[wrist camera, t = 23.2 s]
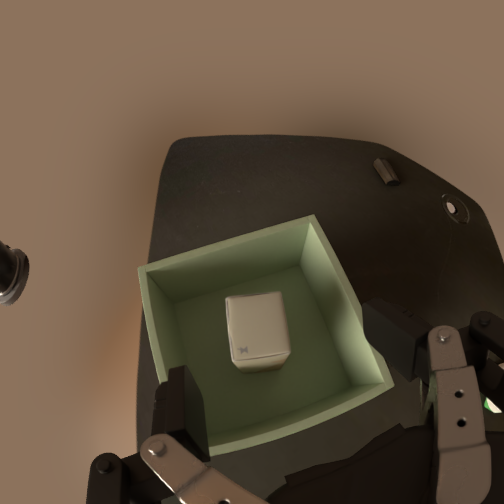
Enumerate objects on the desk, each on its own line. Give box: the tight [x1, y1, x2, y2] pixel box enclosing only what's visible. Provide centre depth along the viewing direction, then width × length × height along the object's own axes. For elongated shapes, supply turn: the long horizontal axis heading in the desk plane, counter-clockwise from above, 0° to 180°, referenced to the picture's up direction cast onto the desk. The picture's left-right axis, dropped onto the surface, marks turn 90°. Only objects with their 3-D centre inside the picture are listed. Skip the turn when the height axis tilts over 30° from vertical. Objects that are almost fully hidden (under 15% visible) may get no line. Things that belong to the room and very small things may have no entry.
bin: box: [138, 214, 395, 456], centre depth 25 cm, size 18×18×10 cm
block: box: [373, 158, 400, 186], centre depth 41 cm, size 4×6×2 cm, turn 9°
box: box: [226, 291, 291, 374], centre depth 24 cm, size 5×4×11 cm
